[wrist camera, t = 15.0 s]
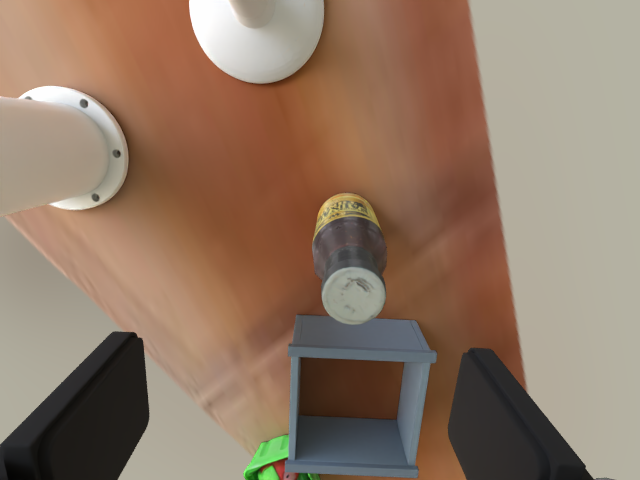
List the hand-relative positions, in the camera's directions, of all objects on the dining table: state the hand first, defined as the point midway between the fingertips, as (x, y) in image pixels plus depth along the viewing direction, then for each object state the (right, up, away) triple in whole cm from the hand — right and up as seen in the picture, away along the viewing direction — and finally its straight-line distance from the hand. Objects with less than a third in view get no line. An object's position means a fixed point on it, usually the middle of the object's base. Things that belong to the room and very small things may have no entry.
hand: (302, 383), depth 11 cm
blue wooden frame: (+5, -13, +36) cm, 39 cm away
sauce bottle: (+3, +7, +31) cm, 32 cm away
